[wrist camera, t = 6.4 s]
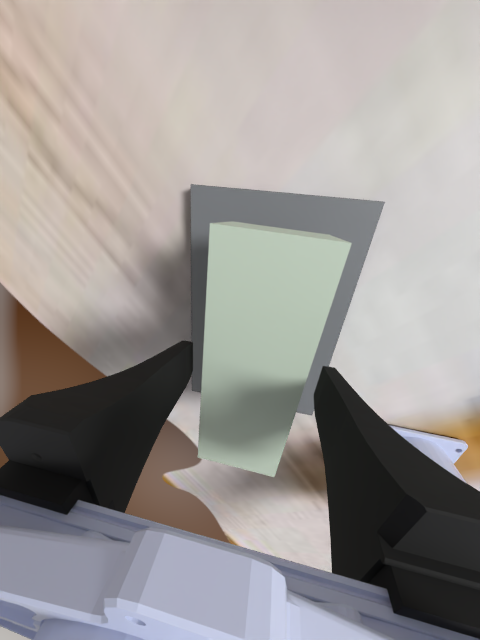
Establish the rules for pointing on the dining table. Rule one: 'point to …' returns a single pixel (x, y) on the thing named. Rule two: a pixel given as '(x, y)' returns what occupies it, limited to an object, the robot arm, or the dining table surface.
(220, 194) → the peg stand
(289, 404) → the pale green block
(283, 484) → the dining table surface
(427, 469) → the robot arm
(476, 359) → the dining table surface
